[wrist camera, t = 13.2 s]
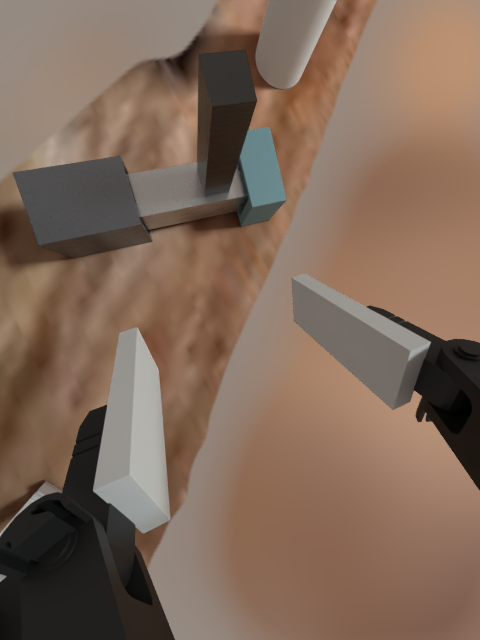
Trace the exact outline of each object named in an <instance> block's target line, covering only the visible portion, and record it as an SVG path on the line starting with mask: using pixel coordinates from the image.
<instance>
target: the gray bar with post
mask: <svg viewBox="0 0 480 640" xmlns="http://www.w3.org/2000/svg"><path fill="white" fill-rule="evenodd" d="M256 102H257V98H256V94H255V90H254V86H253V81H252V77H251V73H250V68H249V64H248V60H247V55H246V51H245V50H239V51H228V52H217V53H206V54H199V78H198V141H197V163H191V164H185V165H179V166H173V167H167V168H161V169H155V170H150V171H144V172H138V173H132V174H126V175H127V178H128V181H129V185H130V188H131V191H132V194H133V198H134V201H135V204H136V208H137V211H138V214H139V217H140V221H141V222H142V224H143V225H144V227H145V228H146V230H150V229H155V228H159V227H164V226H169V225H174V224H178V223H183V222H188V221H193V220H198V219H202V218H207V217H212V216H217V215H222V214H226V213H231V212H236V211H241V210H243V209H244V207H245V205H246V203H247V201H248V199H249V198H248V194H247V190H246V186H245V182H244V178H243V174H242V170H241V166H240V162H239V158H240V155H241V151H242V148H243V145H244V142H245V138H246V135H247V132H248V128H249V125H250V122H251V119H252V115H253V112H254V109H255V106H256Z"/></svg>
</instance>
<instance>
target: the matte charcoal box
mask: <svg viewBox="0 0 480 640" xmlns="http://www.w3.org/2000/svg"><path fill="white" fill-rule="evenodd" d="M126 174H129V173H128V171H127V169H126V167H125V165H124V163H123V161H122V159H121V157H120V156H117V157H110V158H104V159H97V160H91V161H84V162H78V163H71V164H65V165H59V166H52V167H46V168H39V169H33V170H26V171H20V172H13V175H14V178H15V180H16V183H17V186H18V189H19V192H20V194H21V197H22V200H23V203H24V205H25V208H26V211H27V214H28V217H29V219H30V222H31V225H32V228H33V230H34V233H35V236H36V239H37V242H38V244H39V245H40V246H42V247H45V248H48V249H50V250H53V251H56V252H58V253H61V254H64V255H66V256H69V257H72V258H79V257H83V256H88V255H93V254H97V253H102V252H106V251H111V250H115V249H120V248H125V247H129V246H134V245H138V244H143V243H148V242H152V238H151V235H150V231H149V230H146V228H145V227H144V225H143V224H142V222H141V221H140V217H139V214H138V211H137V208H136V204H135V201H134V198H133V194H132V191H131V188H130V185H129V181H128V178H127V175H126Z"/></svg>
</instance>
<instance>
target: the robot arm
mask: <svg viewBox="0 0 480 640" xmlns="http://www.w3.org/2000/svg"><path fill="white" fill-rule="evenodd" d="M292 293H293V313H294V322H296V324H298V325H299V326H300V327H301V328H302V329H303V330H304V331H305V332H306V333H308V334H309V335H310V336H311V337H312V338H313V339H314V340H316V342H318V343H319V344H320V345H321V346H322V347H323V348H324V349H325V350H327V351H328V352H329V353H330V354H331V355H332V356H333V357H334V358H335V359H337V360H338V361H339V362H340V363H341V364H342V365H343V366H344V367H345V368H347V369H348V370H349V371H350V372H351V373H352V374H353V375H355V377H357V378H358V379H359V380H360V381H361V382H362V383H363V384H364V385H365V386H367V387H368V388H369V389H370V390H371V391H372V392H373V393H374V394H375V395H377V396H378V397H379V398H380V399H381V400H382V401H383V402H384V403H386V404H387V405H388V406H389V407H390V408H391V409H392V410H394V409H396V408H398V407H400V406H402V405H404V404H406V403H408V402H410V400H411V397H412V394H413V392H414V390H415V391H416V392H417V393H419V394H420V395H422V398H421V401H420V403H419V406H418V408H417V411H416V418H417V421H418V422H421V421H422V419H423V417H424V414H425V412H426V413H427V415H426V421H427V422H428V421H432V422H433V423H434V425H435V426H436V428H437V429H438V431H439V432H440V433H441V435H442V436H443V438H444V439H445V441H446V442H447V444H448V445H449V446H450V448H451V450H452V451H453V452H454V454H455V455H456V457H457V458H458V460H459V461H460V463H461V464H462V466H463V467H464V468H465V470H466V471H467V473H468V474H469V475H470V477H471V479H472V480H473V481H474V483H475V484H476V486H477V487H478V489H479V490H480V343H478V342H475V341H470V340H465V339H453V340H448V341H445V340H442V339H441V338H439V337H436V336H435V335H433V334H431V333H429V332H427V331H425V330H423V329H421V328H419V327H417V326H415V325H413V324H411V323H409V322H405V320H403V319H401V318H400V317H398V316H397V317H395V315H394V314H392V313H390V312H388V311H386V310H384V309H381V308H377V307H373V306H367V307H365V306H363V305H362V304H360V303H358V302H356V301H354V300H352V299H350V298H349V297H347V296H345V295H343V294H341V293H339V292H338V291H336V290H334V289H332V288H330V287H328V286H326V285H325V284H323V283H321V282H319V281H317V280H315V279H313V278H312V277H310V276H308V275H306V274H302V275H298V276H295V277H292ZM72 456H73V458H72V459H71V461H70V465H69V469H68V472H67V476H66V480H65V483H64V487H63V491H62V493H59V492H55V493H51V494H47V495H44V496H43V497H41V498H39V499H37V500H36V501H34V502H32V503H31V504H29V505H28V506H27V507H26V508H25V509H24V510H23V511H22V512H21V513H19V514H18V515H17V516H16V517H15V518H14V520H13V521H12V522H11V523H10V524H9V526H8V527H7V528H6V529H5V531H4V532H3V533H2V535H1V537H0V574H2V575H5V576H7V577H6V578H4V579H3V580H2V581H1V582H0V640H175V639H174V636H173V634H172V631H171V629H170V626H169V623H168V621H167V618H166V616H165V613H164V611H163V608H162V606H161V603H160V601H159V598H158V595H157V593H156V590H155V588H154V586H153V583H152V580H151V578H150V575H149V573H148V570H147V567H146V565H145V562H144V560H143V557H142V555H141V552H140V551H139V550H138V548H137V547H136V546H135V527H136V528H137V529H138V530H140V531H141V532H142V533H145V532H147V531H149V530H151V529H153V528H156V527H158V526H160V525H162V524H164V523H166V522H168V521H170V508H169V495H168V482H167V470H166V457H165V444H164V431H163V418H162V405H161V392H160V380H159V370H158V368H157V366H156V364H155V362H154V360H153V358H152V356H151V354H150V352H149V350H148V348H147V346H146V344H145V342H144V340H143V338H142V336H141V334H140V332H139V330H138V328H137V327H136V328H133V329H129V330H126V331H123V332H120V334H119V340H118V346H117V352H116V358H115V364H114V369H113V375H112V381H111V387H110V393H109V399H108V405H105V406H103V407H100V408H97V409H95V410H92V411H90V412H89V413H88V415H87V416H86V418H85V419H84V421H83V423H82V424H81V426H80V428H79V432H78V435H77V439H76V445H75V446H74V450H73V454H72Z"/></svg>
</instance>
